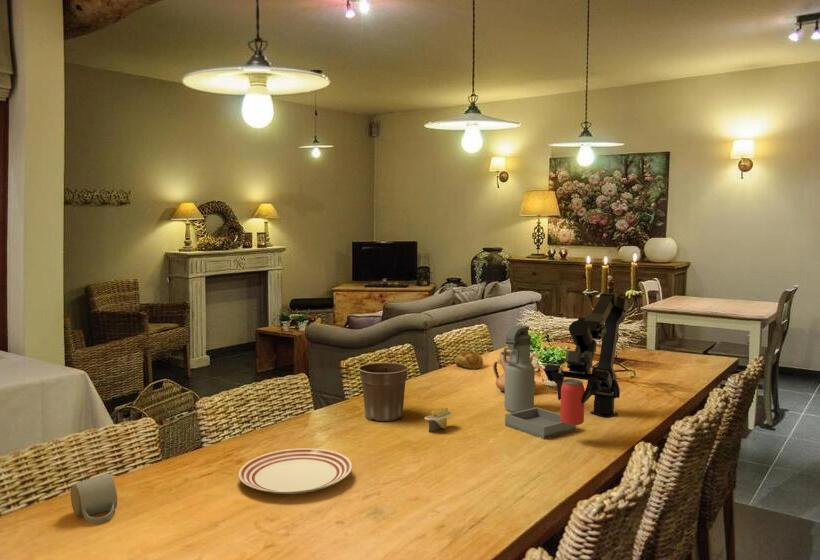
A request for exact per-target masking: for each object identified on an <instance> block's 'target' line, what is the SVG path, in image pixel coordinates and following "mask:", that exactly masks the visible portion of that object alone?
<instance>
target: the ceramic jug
mask: <svg viewBox="0 0 820 560" xmlns="http://www.w3.org/2000/svg"><path fill="white" fill-rule="evenodd" d="M503 356H504V350H503V351H500V352H499V358H498V359H495V360H494V361H493V363H492V369H493V370H492V371H493V374H494V376H495V378H496V380H495V386H496V387H497V389H498V390H500V391H502V392H504V393H505V366H506V365H507V364H508V363H505V362H504V359H503ZM506 359H507V361H509V362H510V350H507V351H506ZM533 360H534V354H533V353H531V352H530V363H531V364H532V365H533V366H534V368H535V370H536V369H537V368H538V365H537V364H536V363H533ZM498 364H499V365H501V367H502V369H503V371H504V373H503V374H502V375H499V372H498V369H497V368H498ZM536 386H537V384H536V380H535V379H534V389H536Z"/></svg>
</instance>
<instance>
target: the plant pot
mask: <svg viewBox="0 0 820 560" xmlns="http://www.w3.org/2000/svg"><path fill="white" fill-rule="evenodd" d="M409 369H410V368H409V366H408V365H406V364H403V363H397V362H373V363H372V362H371V363H367V364H366V363H365V364H362V365H360V366H358V368H357V370H358V371H359V377H360V382H361V386H362V396H363V405H364V415H365V416H364V417H365V418H366V419H368V420H370V421H372V420H375V421H376V422H391V421H396V420H398V419H399V418H400V419H401V418H403V415H404V402H405V392H406V391H405V390H406V381H407V379H408V377H407V376H408V371H409Z"/></svg>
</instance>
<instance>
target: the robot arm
mask: <svg viewBox="0 0 820 560" xmlns="http://www.w3.org/2000/svg"><path fill="white" fill-rule="evenodd" d="M629 304H630V303H629V302H628V300H627V299H626V298H625V297H622V296H619V295H618V294H616V293H611V292H602V293H599V297H598V300H597V302H596V304H595V305H594V307H593V309H592V310H591V313H590V314H588V315H584V316H583V317H578V319H577V320H574V321H573V322H571V323H570V324H569V326H568V332H569V334H570V336H571V340H572V343H573V344H574V345H575V349H574V351H572V350H571V351H570V350H567V351H566V353H565V359H564V362H565V363H567V364H566V367H567V369H568V370H567V369H562V368H561V366H560V364H555V363H547V364H546V365H545V366H544V371H543V372H544V374H545V375H546V377H547V380H548V381H550V382H554V383H555V384H556V389H557V391H556V392H557V399H558V401H561V386H562V384H563V381H564V380H565V378H568V379H576V380H581V381H582V380H584V381H587V382H586V383H587V384H586V386H585V388H584V390H585V392H584V395H583V399H582V403H583V404H584V405H585V403H586V402H587V401H588V400H589V399H590V398H591V397H592V396H594V399H593V410H591V411H589V414H593V415H596V416H599V417H603V418H609V417H613V416H617V415H618V413H619V412H616V411H615V399H619V398H620V397H621V396H620V395H621V388H620V385H619V382H618V380H617V379H618V377H617V374H616V371H615V369H614V362H615V356H616V355H615V354H616V348H617V343H618V334H619V328H620V325H621V324H622V322H623V321H624V320H626V315H627V313H628V312H629V308H630V307H629V306H630V305H629ZM596 340H598V341H599V340H601V345H600V351H599V352H600V353H599V359H598V364H597V365H596V366H594V367H593V365H594V364H593V360H594V358H595V355H596V352H597V346H598V345H597V342H596ZM591 368H592V370H591ZM590 372H591V373H590Z"/></svg>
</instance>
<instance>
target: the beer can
mask: <svg viewBox="0 0 820 560" xmlns="http://www.w3.org/2000/svg"><path fill="white" fill-rule="evenodd" d="M583 383H584V381H582V380H581V379H575V378H568V379H567V378H566V379H564V381H563V384H562V386H561V399H560V407H559V408H560V413H559V414H560V420H561V422H562V423H564V424H567V425H576V426H579V425H582V424H583V423H584V421H585V403H584V404H583V403H582V399H583V395H584V392H585V386H584V384H583Z"/></svg>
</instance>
